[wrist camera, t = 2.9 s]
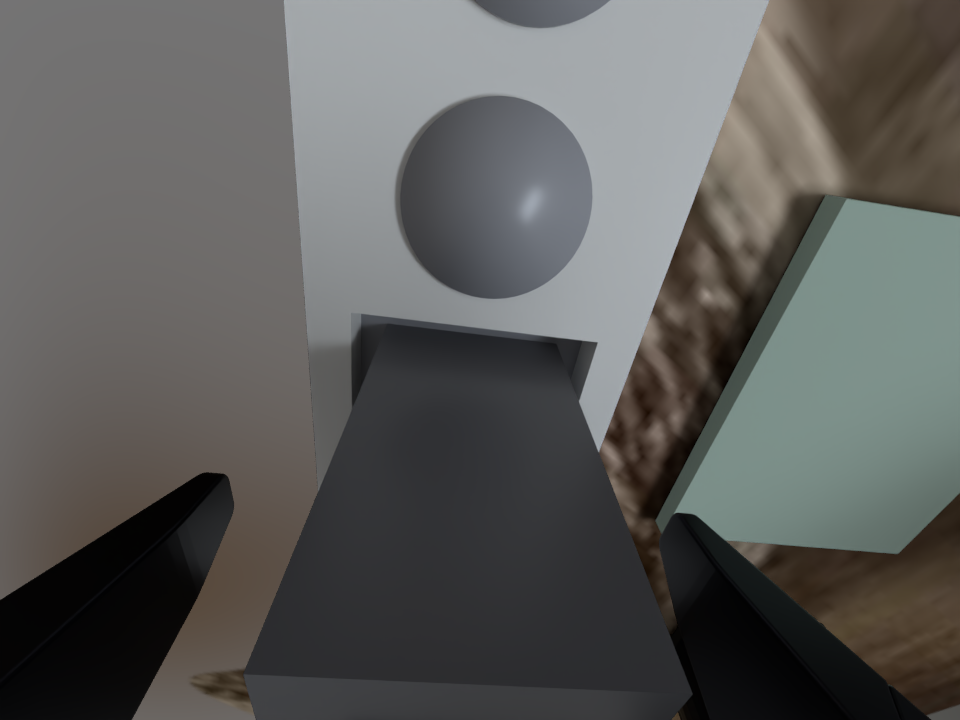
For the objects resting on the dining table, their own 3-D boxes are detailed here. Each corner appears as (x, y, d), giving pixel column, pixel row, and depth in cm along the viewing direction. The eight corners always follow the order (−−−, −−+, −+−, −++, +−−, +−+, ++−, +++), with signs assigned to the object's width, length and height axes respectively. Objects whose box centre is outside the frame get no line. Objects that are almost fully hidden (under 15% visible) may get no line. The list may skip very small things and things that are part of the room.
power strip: (536, 539, 15) (548, 612, 13) (341, 524, 14) (317, 598, 12) (863, -468, 5) (1150, -901, 3) (303, -648, 5) (150, -1354, 2)
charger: (517, 491, 12) (563, 854, 6) (382, 479, 12) (288, 851, 6) (556, 343, 10) (695, 702, 4) (387, 323, 10) (239, 684, 3)
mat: (883, 539, 16) (897, 553, 15) (655, 520, 15) (662, 535, 14) (1161, 249, 10) (1199, 255, 10) (826, 194, 9) (846, 198, 9)
